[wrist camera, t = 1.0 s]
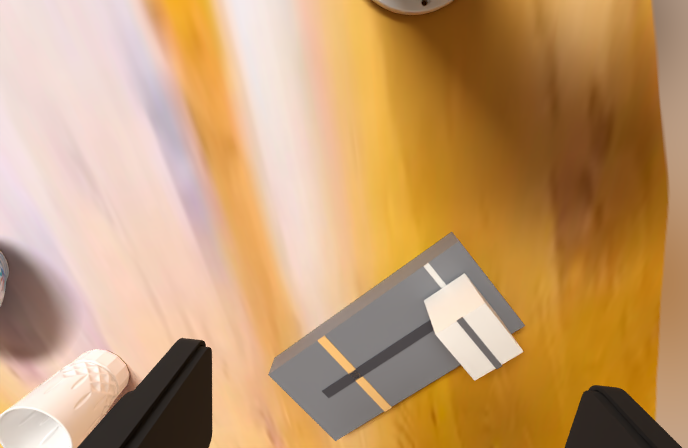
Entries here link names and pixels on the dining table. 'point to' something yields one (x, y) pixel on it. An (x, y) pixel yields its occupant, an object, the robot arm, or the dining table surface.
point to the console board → (381, 343)
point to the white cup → (65, 403)
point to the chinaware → (3, 275)
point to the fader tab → (470, 328)
